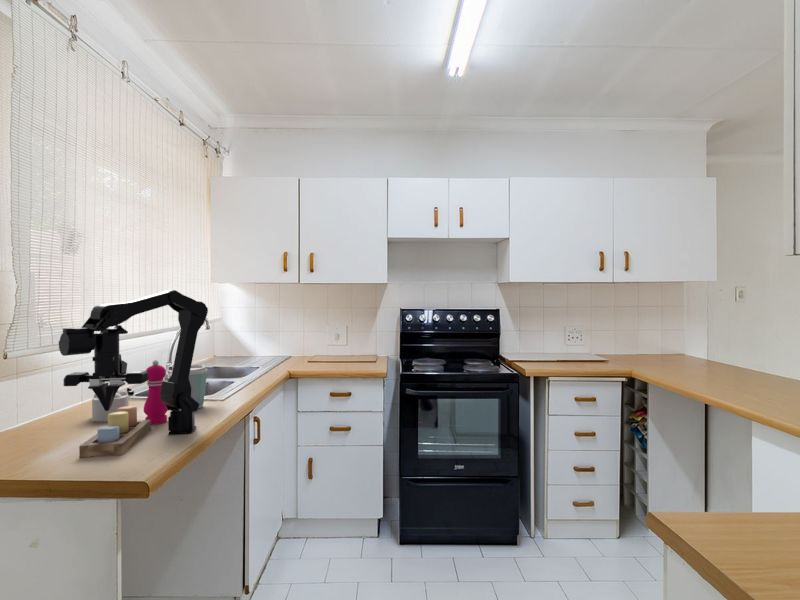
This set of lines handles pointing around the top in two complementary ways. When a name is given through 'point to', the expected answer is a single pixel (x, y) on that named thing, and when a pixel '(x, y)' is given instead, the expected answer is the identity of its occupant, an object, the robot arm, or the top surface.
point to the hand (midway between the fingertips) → (107, 410)
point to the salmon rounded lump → (130, 414)
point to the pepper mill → (155, 395)
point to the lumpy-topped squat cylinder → (118, 402)
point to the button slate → (108, 434)
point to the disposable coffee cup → (198, 383)
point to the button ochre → (119, 421)
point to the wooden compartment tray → (115, 448)
